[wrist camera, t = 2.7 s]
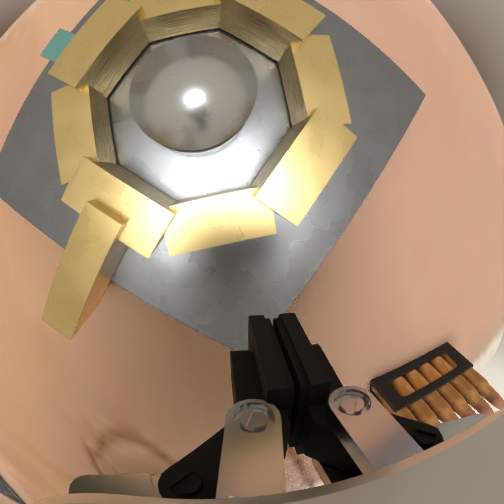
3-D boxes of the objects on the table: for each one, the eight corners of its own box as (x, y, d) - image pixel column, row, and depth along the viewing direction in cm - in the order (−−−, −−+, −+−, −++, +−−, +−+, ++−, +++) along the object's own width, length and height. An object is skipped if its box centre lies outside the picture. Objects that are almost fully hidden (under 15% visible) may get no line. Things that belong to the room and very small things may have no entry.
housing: (246, 343, 22) (258, 393, 16) (-5, 178, 15) (-53, 184, 10) (411, 99, 18) (460, 86, 13) (162, -50, 12) (155, -92, 6)
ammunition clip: (447, 341, 26) (515, 398, 14) (445, 353, 26) (509, 410, 15) (369, 380, 25) (430, 464, 13) (369, 392, 25) (425, 474, 14)
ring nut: (185, 351, 19) (179, 399, 14) (10, 235, 15) (-33, 253, 10) (364, 90, 16) (407, 70, 11) (176, -22, 12) (169, -65, 7)
